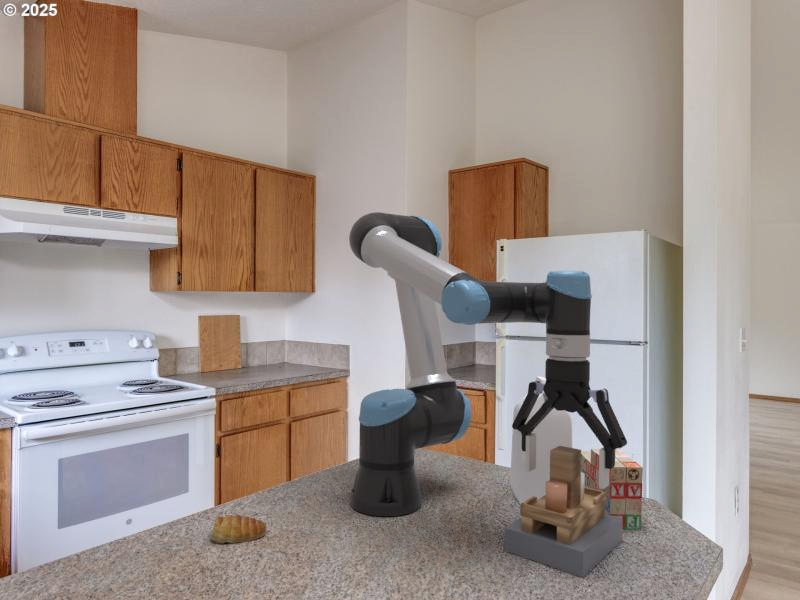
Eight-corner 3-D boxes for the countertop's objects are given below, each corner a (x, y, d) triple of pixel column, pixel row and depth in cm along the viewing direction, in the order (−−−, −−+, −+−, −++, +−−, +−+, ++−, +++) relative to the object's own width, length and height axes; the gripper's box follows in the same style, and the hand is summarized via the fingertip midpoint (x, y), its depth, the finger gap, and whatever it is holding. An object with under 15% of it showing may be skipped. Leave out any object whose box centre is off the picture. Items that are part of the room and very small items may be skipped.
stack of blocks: (577, 491, 129) (578, 437, 129) (605, 491, 129) (605, 437, 129) (609, 530, 108) (610, 465, 107) (642, 530, 107) (643, 466, 107)
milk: (574, 505, 120) (576, 382, 120) (519, 504, 120) (521, 382, 120) (559, 486, 132) (561, 374, 132) (509, 485, 132) (511, 374, 132)
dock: (504, 550, 98) (504, 527, 98) (550, 520, 112) (550, 499, 112) (582, 577, 89) (583, 552, 89) (622, 540, 103) (622, 518, 103)
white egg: (560, 498, 103) (560, 473, 103) (568, 492, 106) (568, 468, 106) (579, 502, 101) (580, 477, 100) (587, 497, 103) (587, 472, 103)
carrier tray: (570, 545, 91) (571, 465, 91) (519, 529, 97) (521, 454, 97) (606, 516, 103) (607, 445, 103) (559, 504, 109) (561, 437, 109)
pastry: (267, 527, 107) (267, 507, 107) (265, 543, 100) (265, 522, 100) (215, 531, 105) (215, 510, 105) (209, 547, 98) (209, 525, 98)
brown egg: (541, 509, 97) (541, 483, 97) (553, 504, 100) (553, 478, 100) (559, 515, 95) (559, 488, 95) (571, 510, 97) (571, 484, 97)
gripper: (495, 354, 105) (493, 468, 105) (633, 366, 89) (631, 500, 89) (514, 351, 111) (513, 459, 111) (647, 362, 95) (645, 488, 95)
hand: (565, 478), depth 100 cm, fingers open, 13 cm apart
